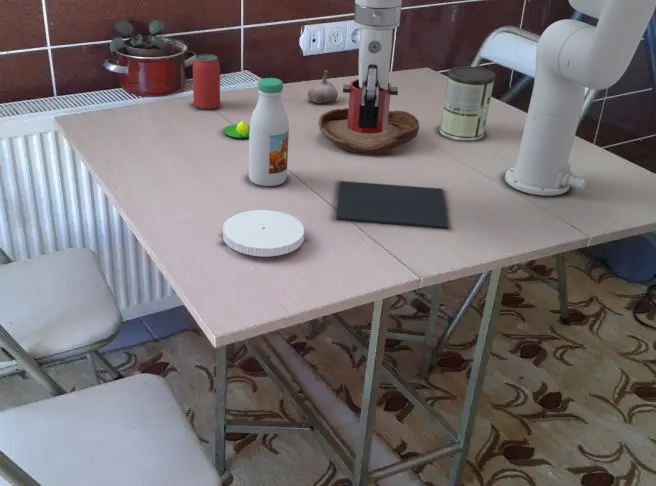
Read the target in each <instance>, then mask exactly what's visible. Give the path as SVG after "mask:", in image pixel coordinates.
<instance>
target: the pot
mask: <svg viewBox="0 0 656 486" xmlns="http://www.w3.org/2000/svg"><path fill="white" fill-rule="evenodd" d="M349 83H350V84H343V85H342V86H343V87H342V93H344V94H349V98H348V108H349V109H348V123H347V127H348V128H349V129H350V130H352V131H355V132H359V133H367V134H374V133H380V132H383V131H385V130H386V129H387V124H388V114H389V111H390V103H391V96H398V94H399V87H398V86H392V83H390V82H389V81H388V88H387V89H386V90H384V88H380V85H379V96H378V105H379V111H378V121H377V128H375V129H373V128H359V126H358V123H359V111H360V104H362V93H363V90H362V89H363V87H362V89H361V88H360V87H359V78H357V79H354V80H352V81H350V82H349ZM365 86H367V87H368V84H366V82H365ZM375 87H377V84H375ZM366 93H367V91H366ZM366 93H365V94H366ZM375 94H376V91H375Z"/></svg>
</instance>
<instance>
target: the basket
mask: <svg viewBox="0 0 656 486" xmlns="http://www.w3.org/2000/svg"><path fill="white" fill-rule="evenodd" d="M348 109H349V107H344V108H336V109H331V110H329V111H326V112H324V113H322V114H321V115H320V116H319V118H318V127H319V130H320V131H321V133H322V134H323V135H324V136H325V138H326V139H327V140H329V141H330V142H331V143H332V144H334V145H336V146H337V147H339V148H341V149H343V150H345V151H349V152H351V153H354V154H359V155H368V156H372V155H373V156H374V155H379V154H386V153H389V152H391V151H394V150H396V149H398V148H401V147H403V146H405V145H407V144H408V143H410V142H412V141H413V140H414V139H416V137H417V136H418V133H419V130H420V122H419V119H418V118H417V117H416V116H415V115H414V114H411V113H409V112H407V111H405V110H404V111H403V110H397V109H396V110H389V114H388V124H387V129H386V130H385V131H383V132H380V133H374V134H367V133H359V132H355V131H352V130H350V129H349V128H348V127H347V123H348Z"/></svg>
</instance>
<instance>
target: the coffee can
mask: <svg viewBox="0 0 656 486" xmlns="http://www.w3.org/2000/svg"><path fill="white" fill-rule="evenodd" d="M447 71H448V72H447V75H448V76H447V83H446V88H445V93H444V94H445V95H444V102H443V108H442V113H441V119H440V127H439V130H438V131H439V133H440V134H441V135H442V136H444V137H446V138H447V139H452V140H456V141H465V142H467V141H468V142H470V141H471V142H472V141H477V140H481V139H482V138H484V136H485V130H486V124H487V120H488V114H489V110H490V109H489V108H490V103H491V98H492V94H493V87H494V82H495V79H496V76H497V75H496V73H495V72H494V71H492V70H490V69H488V68H483V67H479V66H470V65H469V66H468V65H464V66H463V65H461V66H454V67H452V68H450V69H449V70H447Z"/></svg>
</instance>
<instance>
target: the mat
mask: <svg viewBox="0 0 656 486" xmlns="http://www.w3.org/2000/svg"><path fill="white" fill-rule="evenodd" d="M336 220H337V221H349V222H359V223H361V222H363V223H372V224H373V223H375V224H385V225H396V226H397V225H398V226H410V227H411V226H412V227H423V228H435V229H437V228H438V229H448V220H447V214H446V208H445V201H444V196H443V189H442V188H437V187H425V186H424V187H423V186H411V185H396V184H384V183H382V184H381V183H368V182H360V181H359V182H357V181H345V180H340V181H339V191H338V200H337V211H336Z"/></svg>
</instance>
